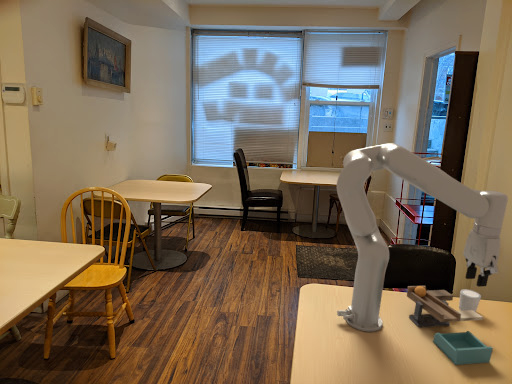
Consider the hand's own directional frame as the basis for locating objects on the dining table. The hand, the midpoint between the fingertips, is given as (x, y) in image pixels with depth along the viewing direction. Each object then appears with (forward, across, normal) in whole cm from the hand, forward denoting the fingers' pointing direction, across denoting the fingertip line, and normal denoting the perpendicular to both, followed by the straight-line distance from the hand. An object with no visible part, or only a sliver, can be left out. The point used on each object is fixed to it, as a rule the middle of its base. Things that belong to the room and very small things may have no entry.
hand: (475, 281), depth 122 cm
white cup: (+20, -14, +12) cm, 26 cm away
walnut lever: (+14, -7, -4) cm, 16 cm away
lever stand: (+19, -8, -8) cm, 22 cm away
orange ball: (+12, -15, -8) cm, 21 cm away
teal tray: (+19, +9, -8) cm, 23 cm away
